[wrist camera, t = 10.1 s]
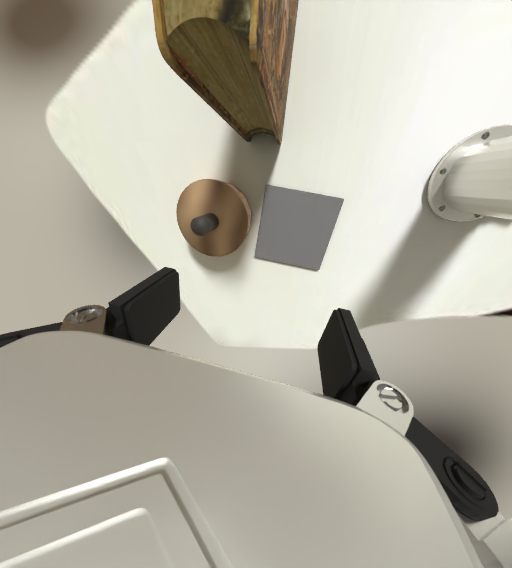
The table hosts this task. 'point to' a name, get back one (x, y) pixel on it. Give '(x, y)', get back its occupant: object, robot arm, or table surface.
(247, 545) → the robot arm
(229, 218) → the lid
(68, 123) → the table surface
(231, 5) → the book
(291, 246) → the mat
